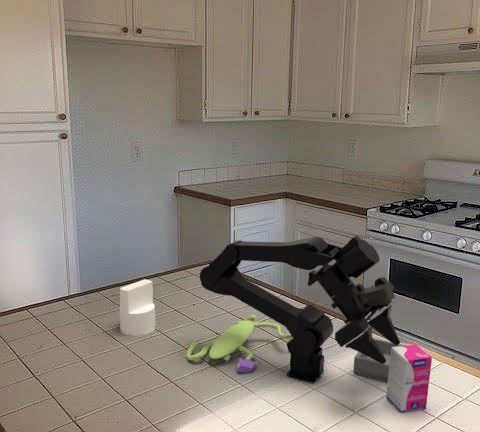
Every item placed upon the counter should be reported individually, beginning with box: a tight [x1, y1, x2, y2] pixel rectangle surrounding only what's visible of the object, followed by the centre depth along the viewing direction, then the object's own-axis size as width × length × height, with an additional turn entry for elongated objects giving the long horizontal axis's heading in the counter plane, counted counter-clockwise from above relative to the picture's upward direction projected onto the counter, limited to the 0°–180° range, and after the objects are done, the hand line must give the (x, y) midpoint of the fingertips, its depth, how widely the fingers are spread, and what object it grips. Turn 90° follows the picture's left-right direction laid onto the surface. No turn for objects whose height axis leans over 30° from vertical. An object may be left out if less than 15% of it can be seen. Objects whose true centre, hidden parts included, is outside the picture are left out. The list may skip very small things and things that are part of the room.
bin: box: [352, 337, 407, 384], centre depth 121 cm, size 12×12×4 cm
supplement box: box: [386, 343, 433, 413], centre depth 107 cm, size 6×6×12 cm
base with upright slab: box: [119, 278, 156, 337], centre depth 140 cm, size 9×9×12 cm
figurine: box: [185, 314, 293, 374], centre depth 130 cm, size 18×27×6 cm
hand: (391, 353), depth 108 cm, fingers open, 9 cm apart
